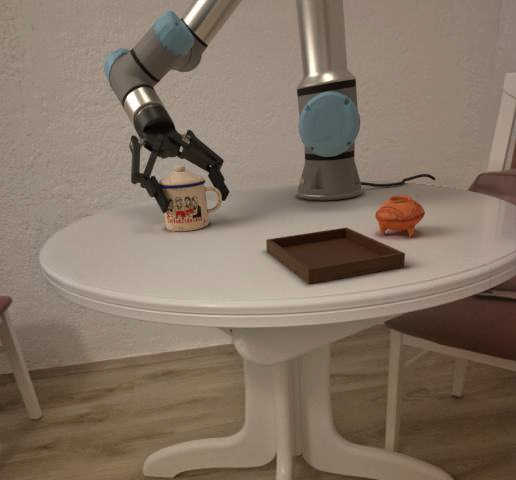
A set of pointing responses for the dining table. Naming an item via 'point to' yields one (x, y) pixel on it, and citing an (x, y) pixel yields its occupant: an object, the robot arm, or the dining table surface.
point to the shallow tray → (333, 254)
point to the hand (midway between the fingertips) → (197, 202)
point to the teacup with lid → (186, 200)
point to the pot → (399, 214)
